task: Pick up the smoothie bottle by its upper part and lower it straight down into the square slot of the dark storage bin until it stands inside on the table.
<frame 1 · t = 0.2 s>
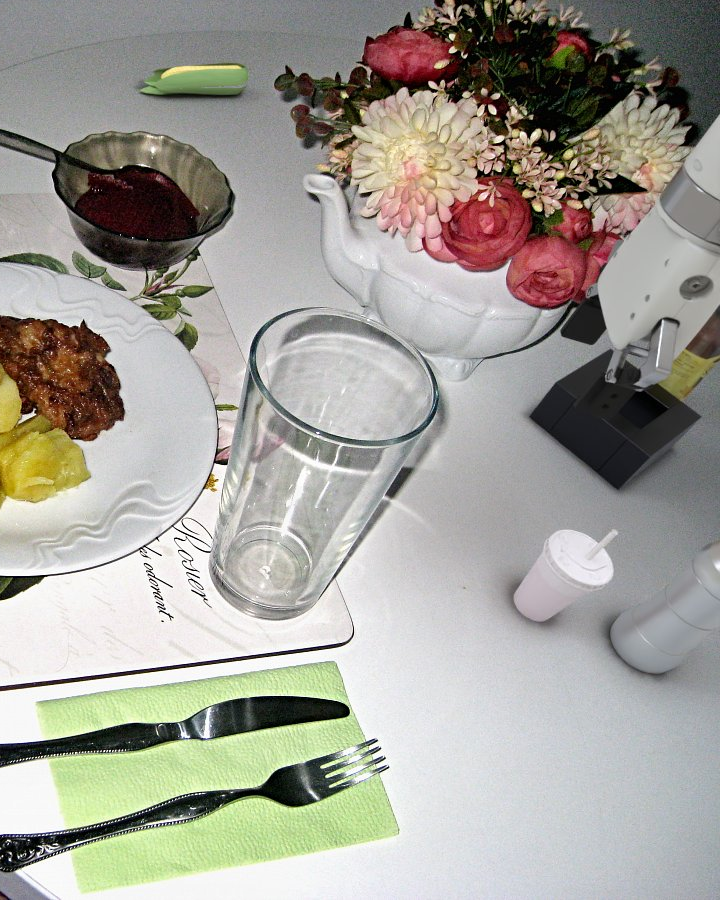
hand: (583, 374, 78), 24 cm above the table, tool pointing down, fingers open, 9 cm apart
edible corn: (192, 93, 150), on the table
dark storage bin: (594, 438, 111), on the table
sauce bottle: (644, 403, 117), on the table
plastic bottle: (632, 652, 90), on the table
smoothie: (526, 610, 91), on the table
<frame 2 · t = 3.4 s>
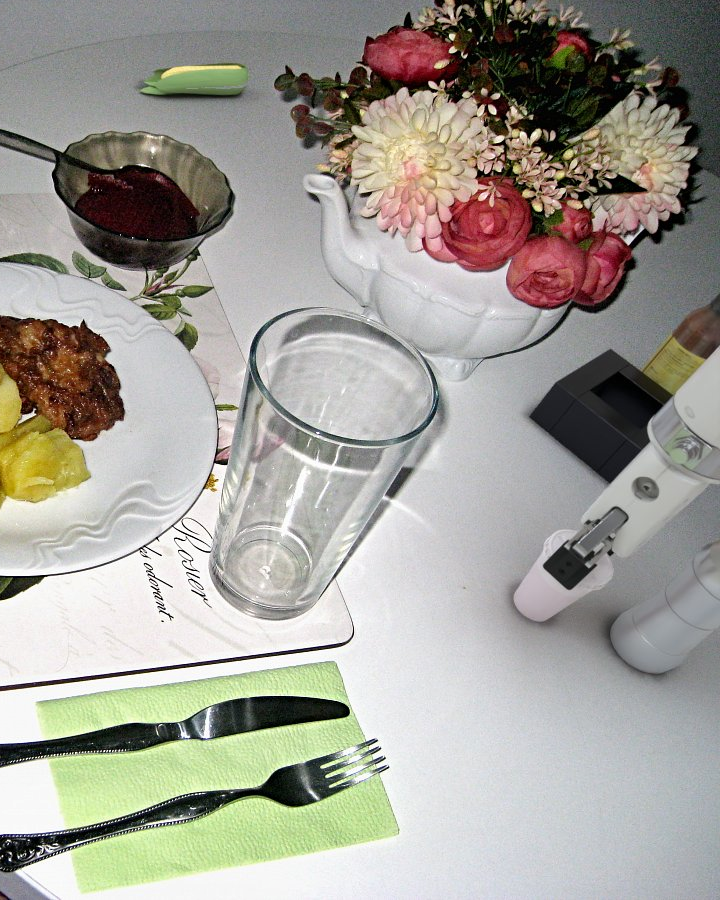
hand: (577, 559, 84), 9 cm above the table, tool pointing down, fingers closed on smoothie, 6 cm apart
smoothie: (526, 610, 91), on the table, touching gripper
everything else where it was.
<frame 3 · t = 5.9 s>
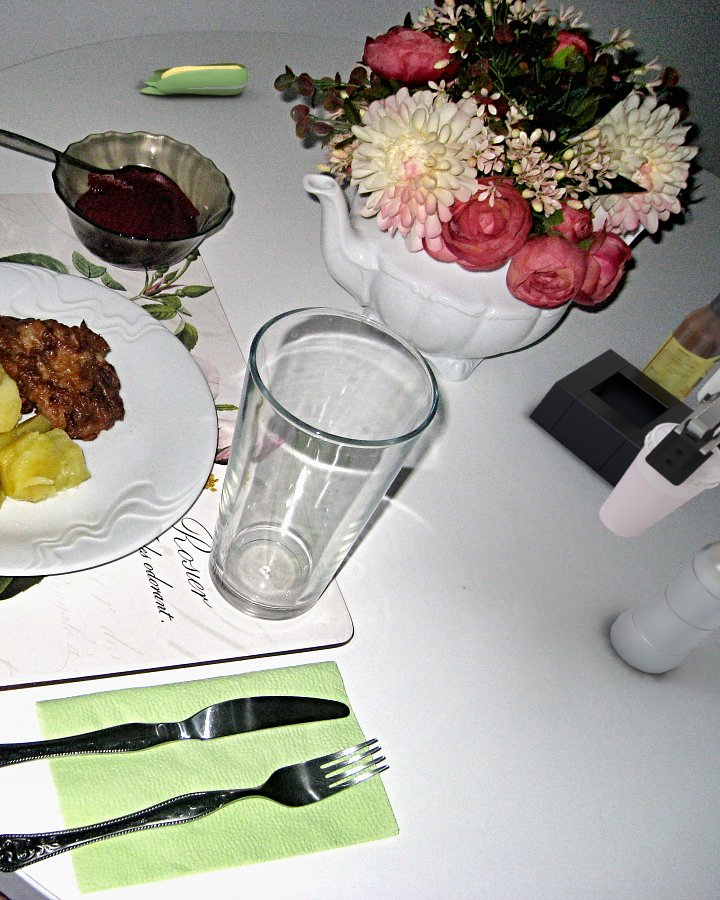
hand: (685, 455, 73), 24 cm above the table, tool pointing down, fingers closed on smoothie, 6 cm apart
smoothie: (617, 522, 80), point 15 cm above the table, touching gripper
everything else where it was.
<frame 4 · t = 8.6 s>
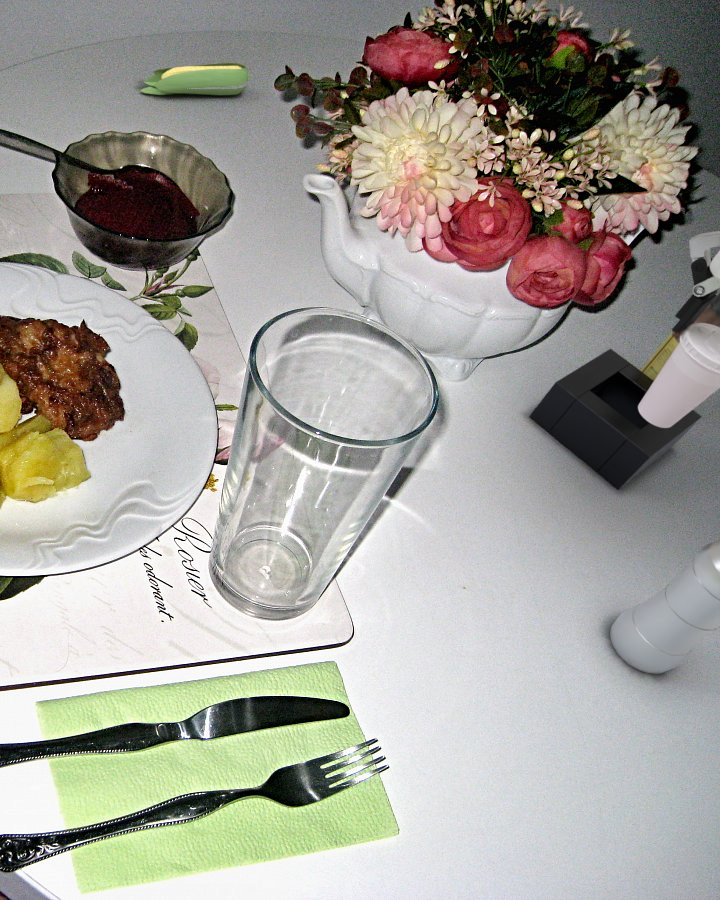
hand: (715, 349, 84), 24 cm above the table, tool pointing down, fingers closed on smoothie, 6 cm apart
smoothie: (654, 415, 91), point 15 cm above the table, touching gripper
everything else where it was.
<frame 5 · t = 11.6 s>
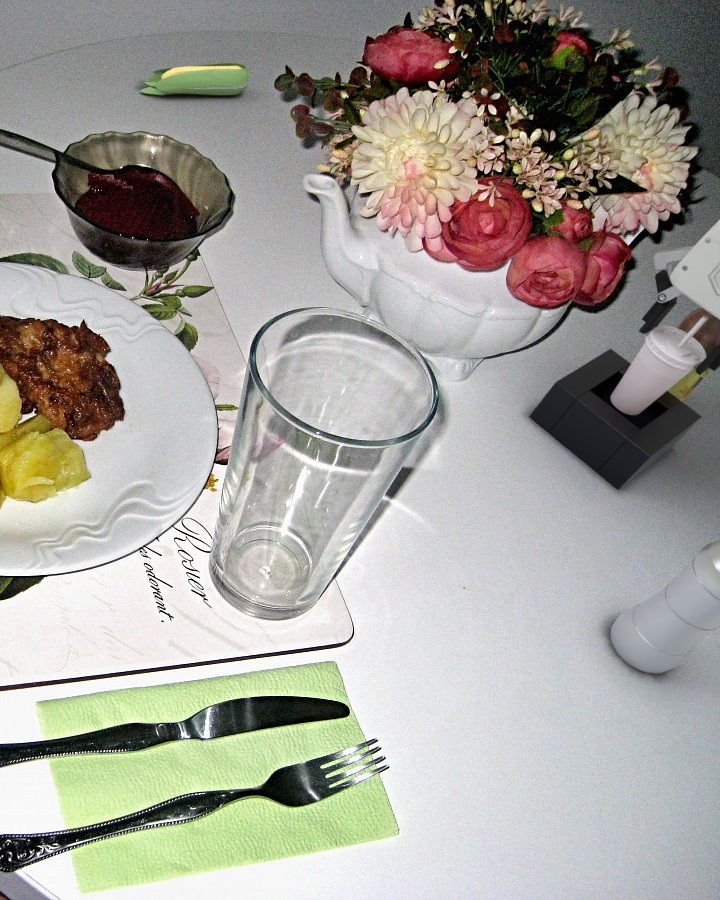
hand: (675, 348, 99), 15 cm above the table, tool pointing down, fingers closed on smoothie, 6 cm apart
smoothie: (624, 404, 106), point 6 cm above the table, touching gripper
everything else where it was.
when the fingers open (9 cm above the table, at t = 13.9 s): smoothie stays where it is, resting in dark storage bin.
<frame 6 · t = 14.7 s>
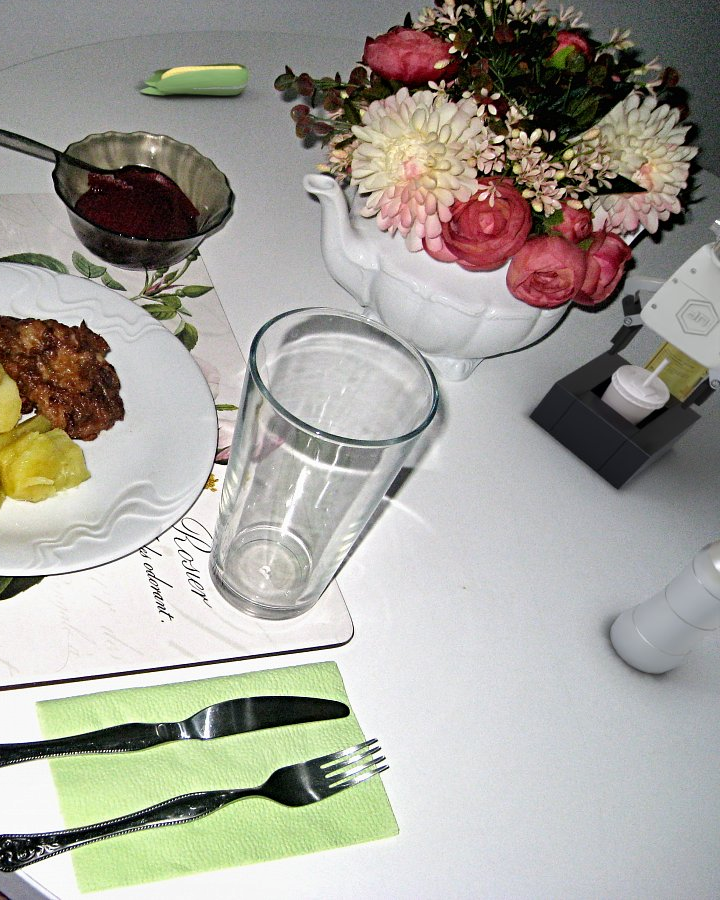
hand: (650, 377, 103), 11 cm above the table, tool pointing down, fingers open, 9 cm apart
smoothie: (593, 439, 111), resting in dark storage bin
everything else where it was.
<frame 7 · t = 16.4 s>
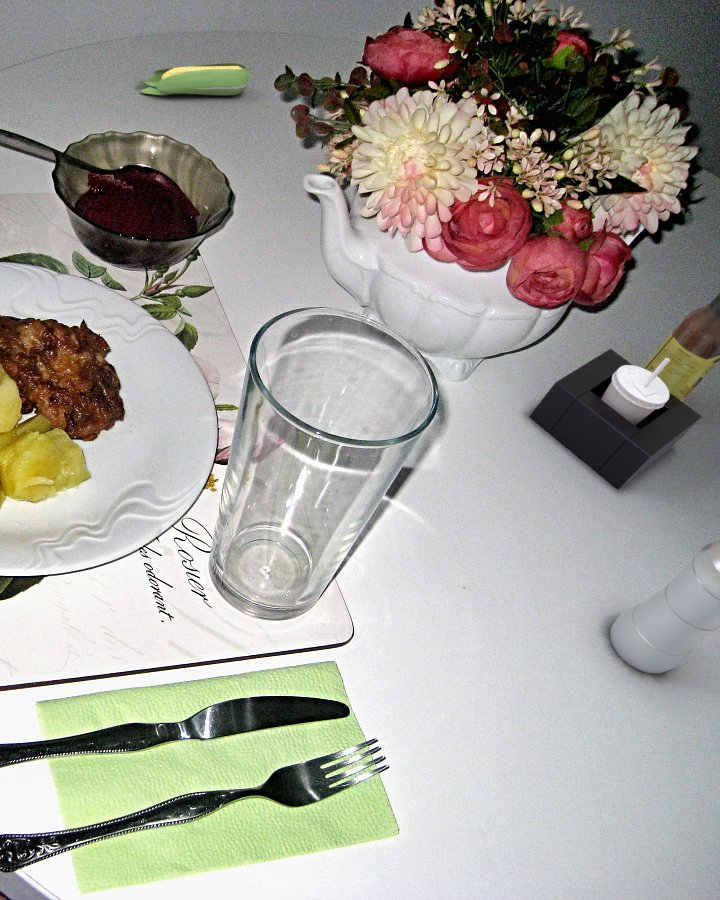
nothing on the table moved.
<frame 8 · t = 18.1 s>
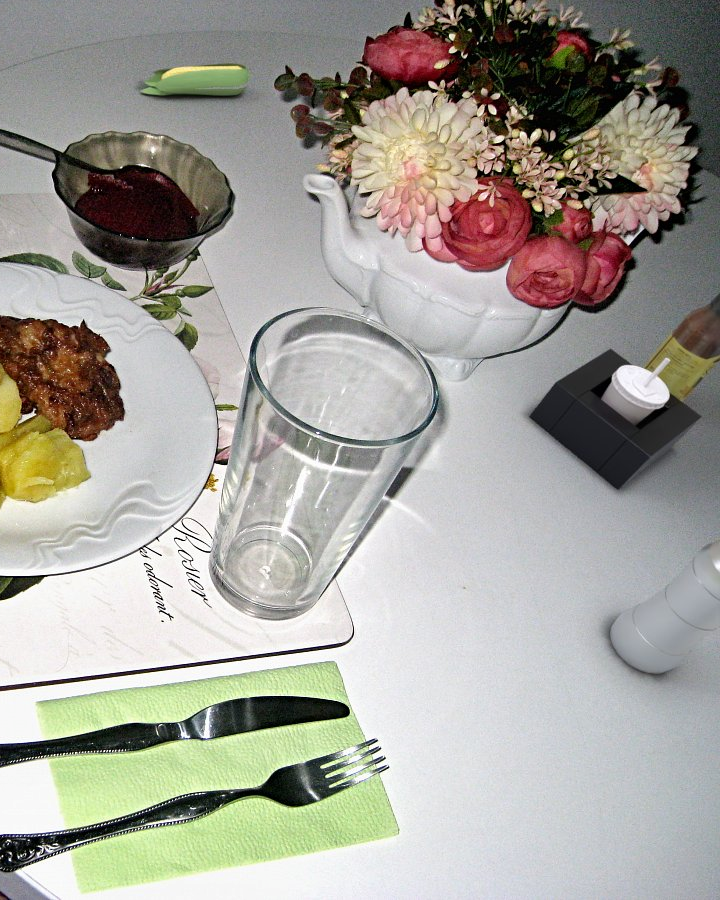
nothing on the table moved.
at the end: smoothie 0.0 cm off-centre in the dark storage bin, point 0.0 cm above the dark storage bin's base; smoothie tilted 0°; the gripper is holding nothing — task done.
